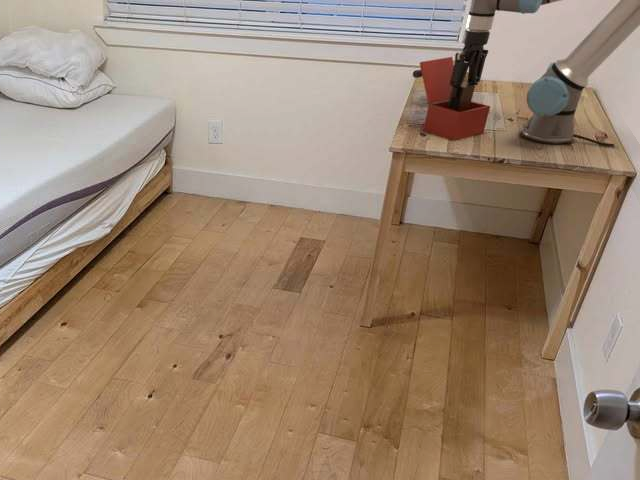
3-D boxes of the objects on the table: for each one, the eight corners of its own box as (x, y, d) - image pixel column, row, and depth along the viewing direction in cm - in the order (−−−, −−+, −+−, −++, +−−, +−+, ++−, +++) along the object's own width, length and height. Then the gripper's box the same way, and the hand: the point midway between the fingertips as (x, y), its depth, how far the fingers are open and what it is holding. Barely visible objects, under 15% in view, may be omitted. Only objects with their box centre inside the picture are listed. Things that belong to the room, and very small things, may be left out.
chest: (483, 132, 231) (490, 106, 226) (453, 140, 225) (460, 112, 220) (452, 124, 240) (458, 98, 235) (422, 130, 233) (428, 104, 228)
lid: (452, 56, 233) (432, 66, 240) (421, 61, 226) (401, 71, 233) (460, 96, 235) (440, 104, 242) (429, 102, 228) (410, 110, 235)
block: (469, 107, 227) (475, 85, 223) (459, 109, 225) (465, 87, 221) (457, 104, 231) (462, 82, 227) (447, 106, 229) (452, 84, 224)
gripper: (485, 25, 221) (467, 100, 234) (448, 31, 213) (431, 107, 226) (505, 29, 216) (485, 105, 229) (469, 34, 208) (450, 112, 221)
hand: (459, 106), depth 228 cm, fingers closed on block, 5 cm apart
